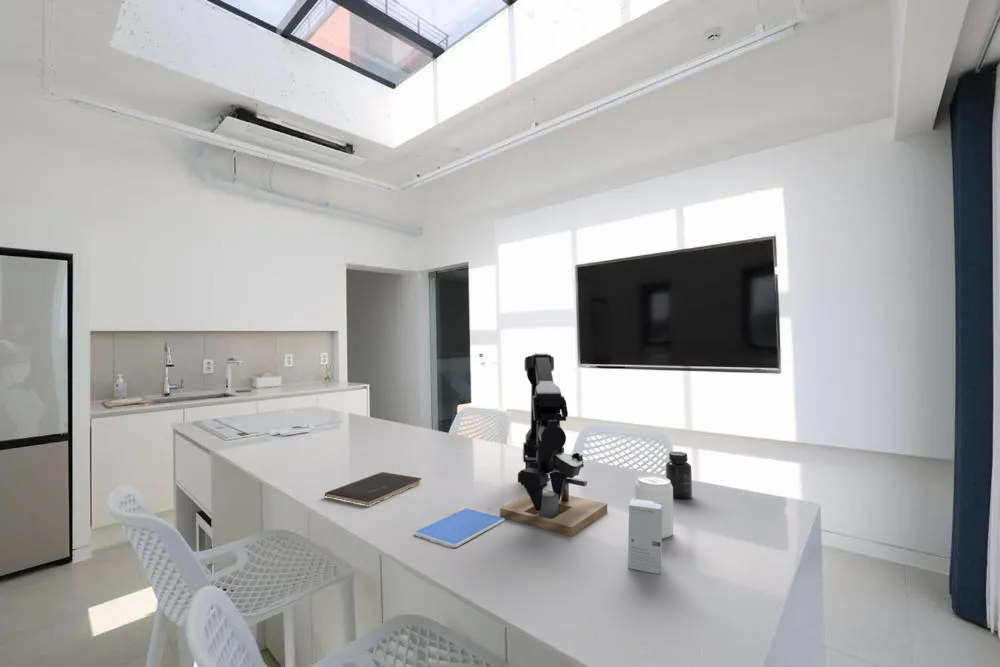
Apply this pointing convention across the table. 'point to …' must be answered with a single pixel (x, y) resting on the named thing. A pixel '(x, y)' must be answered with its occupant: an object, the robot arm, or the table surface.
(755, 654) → the table surface
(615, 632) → the table surface
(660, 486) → the beverage can
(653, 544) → the skincare box
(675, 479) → the supplement bottle
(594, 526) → the table surface
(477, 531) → the tablet computer
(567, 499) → the hook post
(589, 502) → the base board
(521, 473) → the robot arm
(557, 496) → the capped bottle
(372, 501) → the hardcover book
